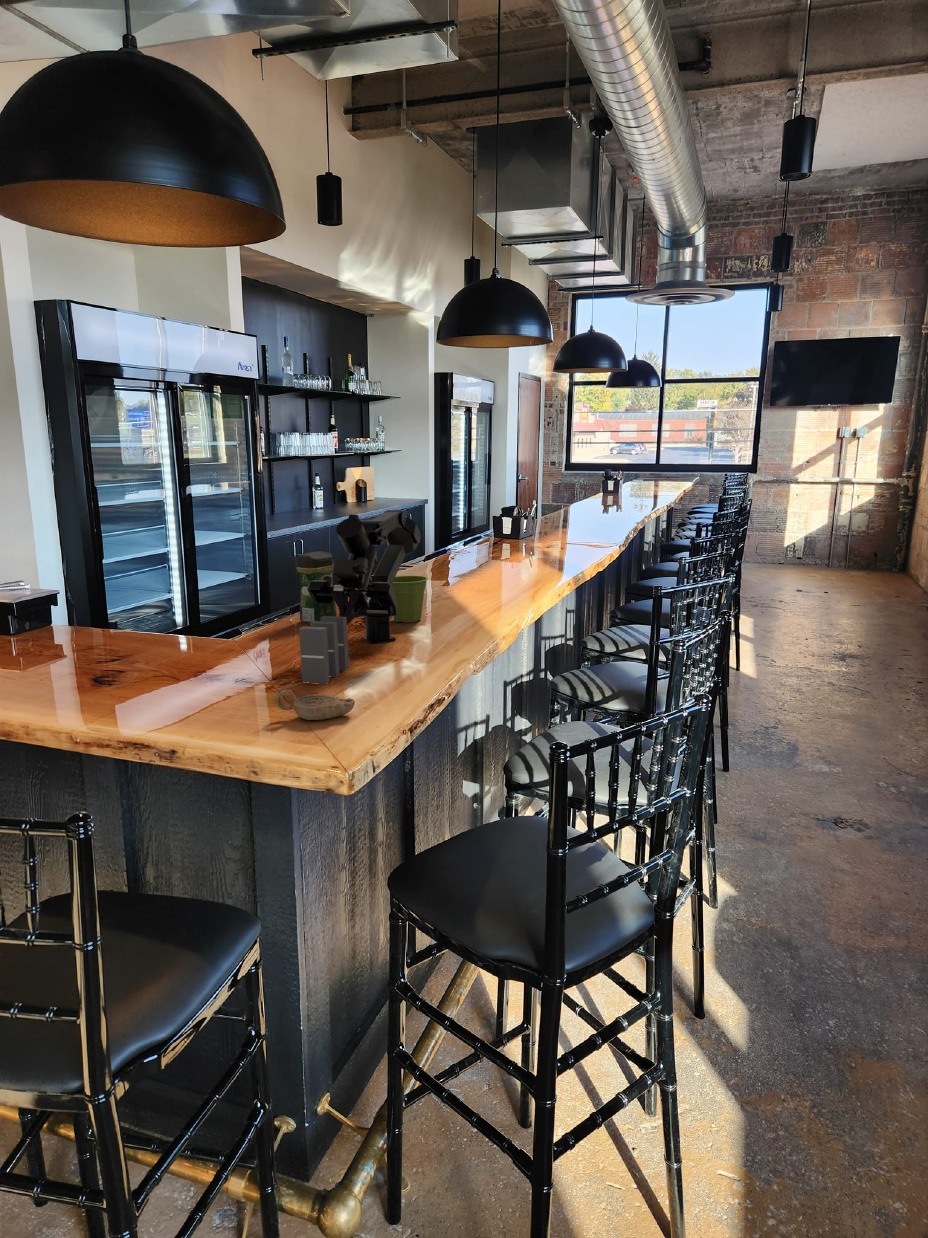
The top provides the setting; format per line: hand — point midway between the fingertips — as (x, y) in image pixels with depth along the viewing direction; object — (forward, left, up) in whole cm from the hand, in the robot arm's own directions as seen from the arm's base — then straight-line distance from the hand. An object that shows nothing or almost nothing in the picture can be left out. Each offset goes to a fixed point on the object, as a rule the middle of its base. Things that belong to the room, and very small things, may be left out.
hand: (342, 625), depth 166 cm
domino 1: (+10, -10, -8) cm, 17 cm away
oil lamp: (+30, -18, -8) cm, 36 cm away
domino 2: (+7, -7, -8) cm, 13 cm away
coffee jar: (-44, +11, -8) cm, 46 cm away
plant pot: (-31, +31, -8) cm, 45 cm away
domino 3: (+3, -3, -8) cm, 9 cm away
